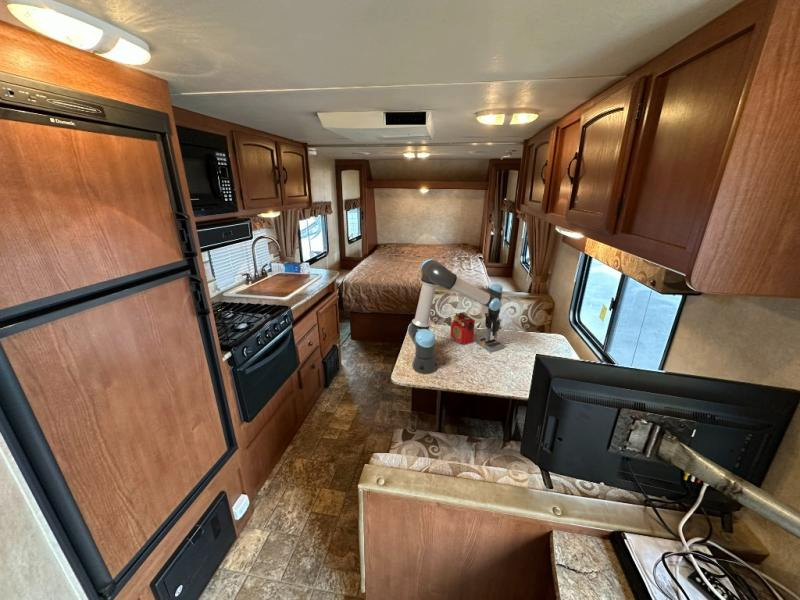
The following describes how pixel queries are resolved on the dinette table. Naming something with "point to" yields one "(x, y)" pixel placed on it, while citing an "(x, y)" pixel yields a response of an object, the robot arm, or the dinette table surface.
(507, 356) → the dinette table surface
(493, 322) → the robot arm
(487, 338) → the panel
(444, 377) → the dinette table surface
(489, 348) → the rack
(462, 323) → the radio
